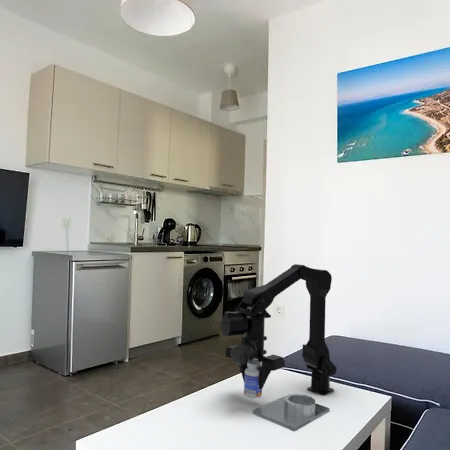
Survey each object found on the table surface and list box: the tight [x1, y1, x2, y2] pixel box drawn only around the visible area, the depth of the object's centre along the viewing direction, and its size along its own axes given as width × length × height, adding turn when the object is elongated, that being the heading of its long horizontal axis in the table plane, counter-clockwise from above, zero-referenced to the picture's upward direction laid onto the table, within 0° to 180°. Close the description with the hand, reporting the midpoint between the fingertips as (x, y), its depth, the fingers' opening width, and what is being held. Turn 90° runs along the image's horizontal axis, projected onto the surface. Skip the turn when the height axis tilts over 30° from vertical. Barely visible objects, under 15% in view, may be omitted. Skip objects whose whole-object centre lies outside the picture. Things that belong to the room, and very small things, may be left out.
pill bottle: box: [243, 360, 263, 399], centre depth 117 cm, size 5×5×10 cm
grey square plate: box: [252, 393, 331, 432], centre depth 112 cm, size 18×14×4 cm
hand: (253, 386), depth 117 cm, fingers closed on pill bottle, 5 cm apart
